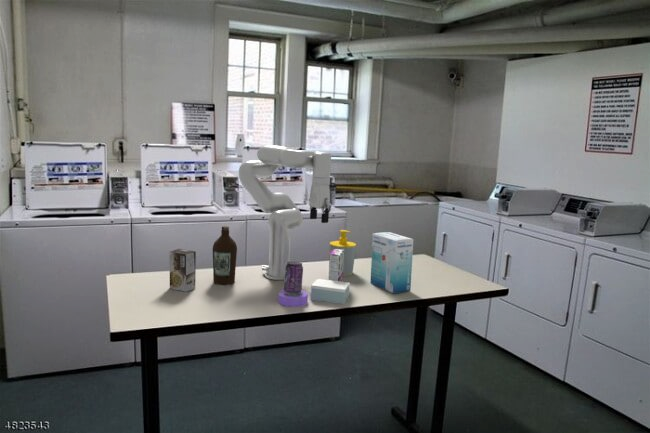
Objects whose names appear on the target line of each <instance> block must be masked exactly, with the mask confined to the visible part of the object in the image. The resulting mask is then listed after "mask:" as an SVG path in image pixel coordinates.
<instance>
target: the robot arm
mask: <svg viewBox="0 0 650 433" xmlns="http://www.w3.org/2000/svg"><path fill="white" fill-rule="evenodd" d="M256 153H257V154H256V156H257V160H247V161H244V162H243V163H242V164H240V166H239V169H238V177H239V181H240V183H241V185H242V187H243V188H244V189H245V190H246V191H247V192H248V193H249V195H250V196H251V198H252V199H253V200H254V201H255V203H256V204H257V206H258V207H259V208H260V210H261V211H262V212H263V213H264V214H269V215H268V218H267V224H268V230H269V247H268V248H269V251H268V252H269V254H268V265H265V264H262V266H261V270H262V271H266V272H265V273H264V276H265V278H267V279H269V280H271V281H273V280H274V281H285V268H286V265H287V262H290V252H291V237H290V235H289V233H288V232H289V231H288V230H294V229H297V228H299V227H301V226H302V224H303V221H304V219H303V214H302V212H301V211H300V208H298V207H297V205H296V204H295V203H294V201H293V200H292V199H291V197H290V196H289V195H287V193H284V192H272V191H271V190H270V189H269V188H268V186H267V185H266V184H265V183H264V182H263V181H262V180H260V179H267V178H270V177H272V176H273V175H274V174H275V173H276V172H277V170H279V168H280V167H285V168H286V167H287V168H293V169H312V177H311V178H312V179H311V184H310V185H311V186H310V192H309V199H308V201H309V202H308V204H309V212H310V213H309V219H310V220H316V219H317V218H318V209H321V212H322V213H321V218H320V219H321V221H320V223H322V224H328V223H329V218H330V217H329V215H330V213H331V212H330V211H331V208H332V202H330V200H331V191H330V184H331V167H332V165H331V164H332V155H331V153H330V152H326V151H325V152H324V151H316V150H307V149H306V150H304V149H303V150H299V149H298V150H296V149H295V150H294V149H290V148H289V147H287V146H281V145H262V146H261V147H259V149H258V150H257V152H256Z"/></svg>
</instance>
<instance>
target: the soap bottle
mask: <svg viewBox="0 0 650 433" xmlns="http://www.w3.org/2000/svg"><path fill="white" fill-rule="evenodd" d="M339 232H340V237H339V239H338V240H333V241H330V242H329V255H330V254H331V252H332V251H333V250H334V249H342V250H344V264H343V277H347V276H351V275H353V273H354V266H355V265H354V264H355V257H356V248H357V243H355V242H352V241H348V237H347V233H348V234H351V233H352V232H351V231H349V230H345V229H340V230H339Z"/></svg>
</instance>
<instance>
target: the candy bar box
mask: <svg viewBox="0 0 650 433" xmlns="http://www.w3.org/2000/svg"><path fill="white" fill-rule="evenodd" d="M328 264H329V265H328V280H331V281H339V282H344V281H343V279H344V276H343V264H344V250H342V249H334V250H333V251H332V252H331V254H330V253H329V263H328Z"/></svg>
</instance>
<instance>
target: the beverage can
mask: <svg viewBox="0 0 650 433" xmlns="http://www.w3.org/2000/svg"><path fill="white" fill-rule="evenodd" d="M303 274H304V266H303V263H302V262H300V261H299V262H298V261H289V262H287V265H286V268H285V280H283V281H284V283H283V290H284V291H286V292H287V293H293V294H296V293H299V292H301V290H302V286H303ZM302 291H303V290H302Z"/></svg>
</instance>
